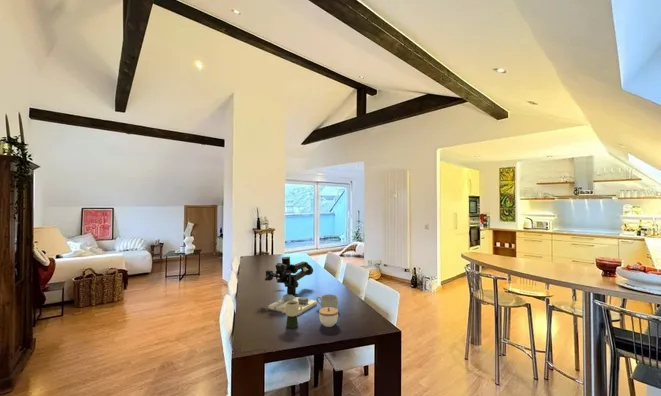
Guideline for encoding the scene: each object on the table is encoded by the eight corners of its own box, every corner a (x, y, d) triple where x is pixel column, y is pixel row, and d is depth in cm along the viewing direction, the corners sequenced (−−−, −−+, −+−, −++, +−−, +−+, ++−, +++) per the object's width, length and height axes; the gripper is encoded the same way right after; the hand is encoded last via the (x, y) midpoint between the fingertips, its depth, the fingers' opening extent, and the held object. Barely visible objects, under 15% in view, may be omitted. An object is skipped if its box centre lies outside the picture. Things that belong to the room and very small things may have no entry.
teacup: (340, 308, 187) (340, 295, 187) (332, 314, 177) (332, 300, 178) (321, 304, 194) (321, 292, 194) (313, 310, 184) (313, 297, 184)
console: (289, 299, 204) (289, 295, 204) (316, 304, 194) (316, 300, 194) (268, 309, 185) (268, 305, 185) (297, 315, 174) (297, 311, 174)
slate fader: (286, 301, 197) (286, 294, 197) (292, 302, 195) (292, 295, 195) (283, 302, 194) (283, 295, 194) (289, 304, 191) (289, 296, 191)
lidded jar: (314, 325, 162) (314, 307, 162) (327, 319, 170) (327, 302, 170) (329, 330, 155) (329, 312, 155) (342, 324, 163) (342, 307, 163)
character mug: (300, 323, 164) (300, 299, 164) (303, 328, 157) (303, 303, 157) (281, 325, 161) (281, 301, 161) (282, 330, 154) (282, 305, 154)
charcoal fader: (301, 304, 192) (301, 296, 192) (308, 305, 189) (308, 298, 189) (298, 305, 188) (298, 298, 188) (304, 307, 186) (304, 299, 186)
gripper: (272, 260, 208) (258, 266, 193) (295, 263, 200) (282, 270, 186) (273, 275, 208) (259, 283, 194) (295, 279, 201) (283, 287, 187)
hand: (270, 280), depth 190 cm, fingers open, 9 cm apart
